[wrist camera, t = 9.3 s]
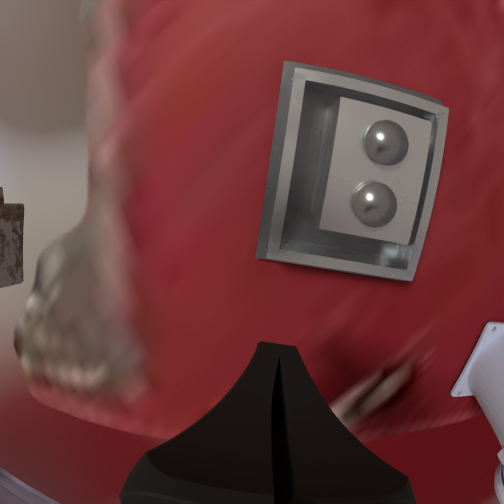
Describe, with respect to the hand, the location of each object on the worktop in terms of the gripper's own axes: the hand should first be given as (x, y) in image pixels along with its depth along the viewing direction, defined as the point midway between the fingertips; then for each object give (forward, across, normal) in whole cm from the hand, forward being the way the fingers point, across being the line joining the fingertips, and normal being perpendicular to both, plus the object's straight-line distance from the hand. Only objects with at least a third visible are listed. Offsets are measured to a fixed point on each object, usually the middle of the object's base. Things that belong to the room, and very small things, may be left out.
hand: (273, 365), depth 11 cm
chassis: (+10, -4, -6) cm, 12 cm away
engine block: (+9, -4, -7) cm, 12 cm away
